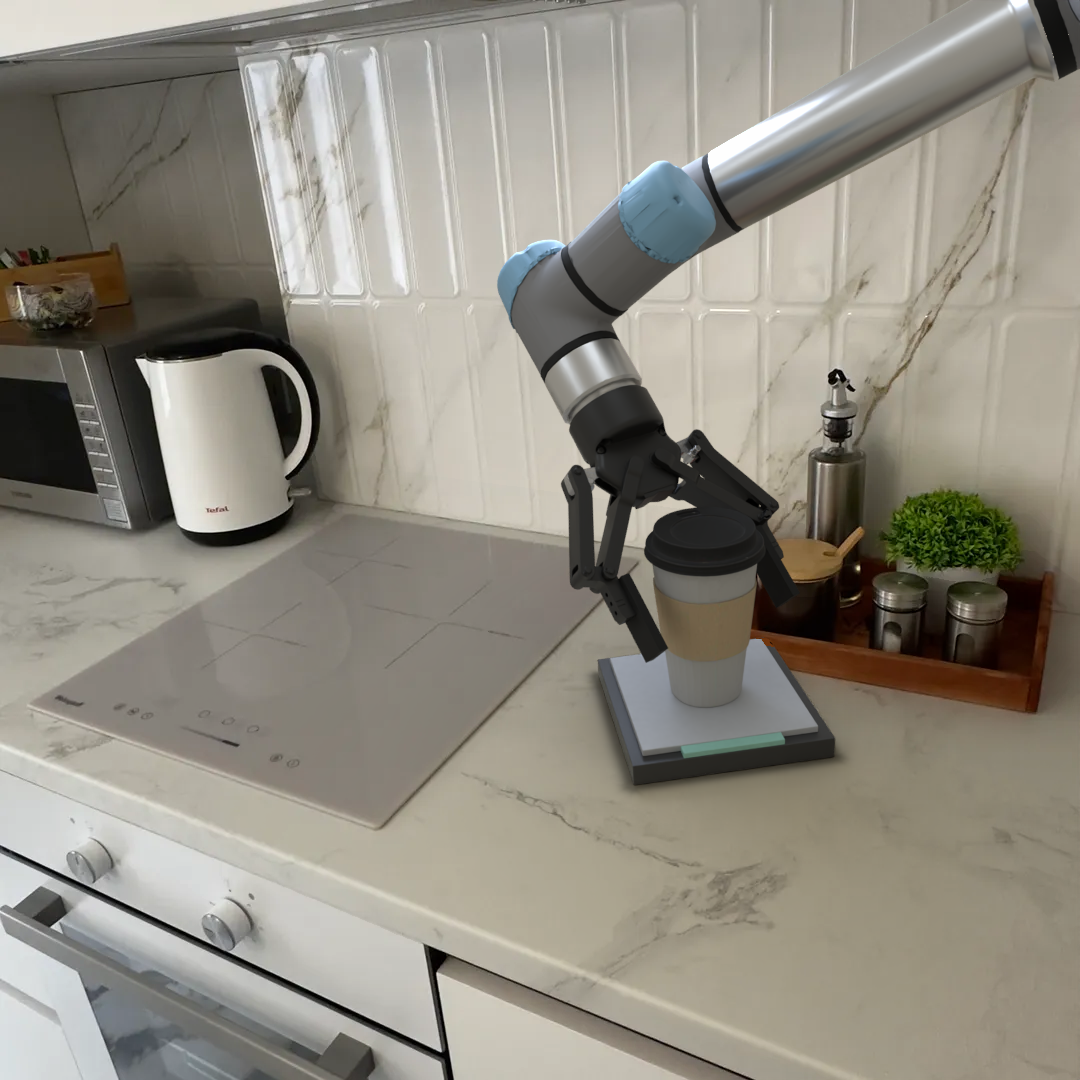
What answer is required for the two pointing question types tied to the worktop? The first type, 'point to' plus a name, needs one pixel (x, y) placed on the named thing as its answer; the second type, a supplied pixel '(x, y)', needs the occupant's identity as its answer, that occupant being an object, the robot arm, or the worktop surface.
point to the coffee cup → (705, 599)
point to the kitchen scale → (711, 719)
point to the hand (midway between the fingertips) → (725, 627)
